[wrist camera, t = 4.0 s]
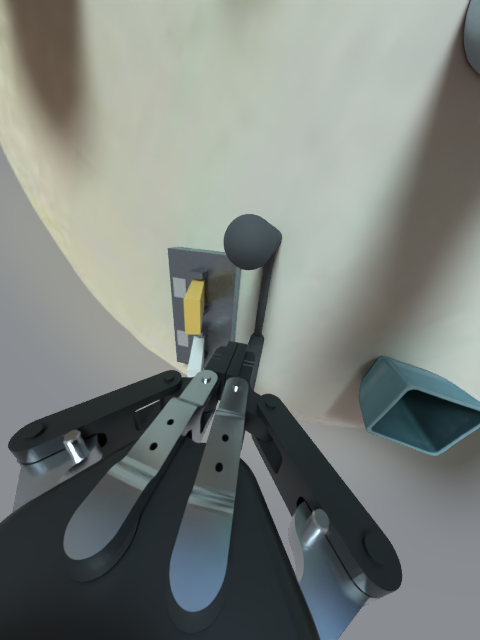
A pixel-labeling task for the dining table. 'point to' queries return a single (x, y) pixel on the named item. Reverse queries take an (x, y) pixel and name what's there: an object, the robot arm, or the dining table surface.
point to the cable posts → (253, 266)
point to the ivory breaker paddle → (196, 357)
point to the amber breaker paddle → (194, 307)
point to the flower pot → (416, 407)
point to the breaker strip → (217, 298)
